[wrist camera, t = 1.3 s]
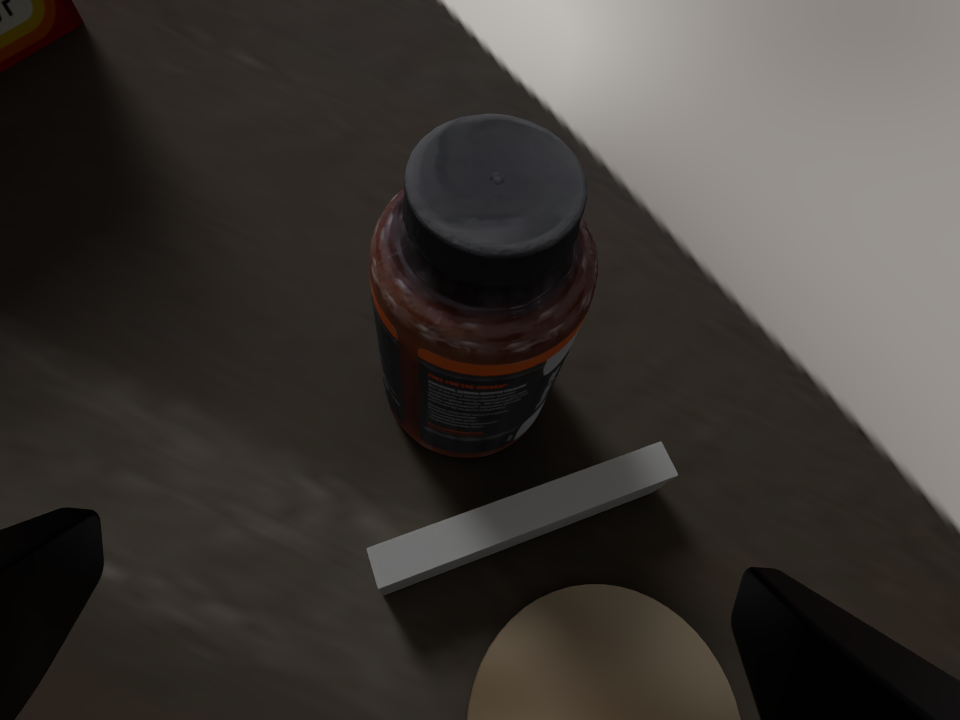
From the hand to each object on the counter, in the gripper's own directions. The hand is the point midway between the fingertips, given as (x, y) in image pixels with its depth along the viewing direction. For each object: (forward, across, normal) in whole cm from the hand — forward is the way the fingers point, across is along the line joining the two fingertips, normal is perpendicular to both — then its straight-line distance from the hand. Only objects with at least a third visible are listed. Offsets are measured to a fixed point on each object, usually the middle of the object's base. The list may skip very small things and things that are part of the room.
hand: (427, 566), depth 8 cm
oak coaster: (+7, -6, +11) cm, 14 cm away
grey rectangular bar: (+11, -3, +6) cm, 13 cm away
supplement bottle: (+15, -1, +3) cm, 15 cm away
